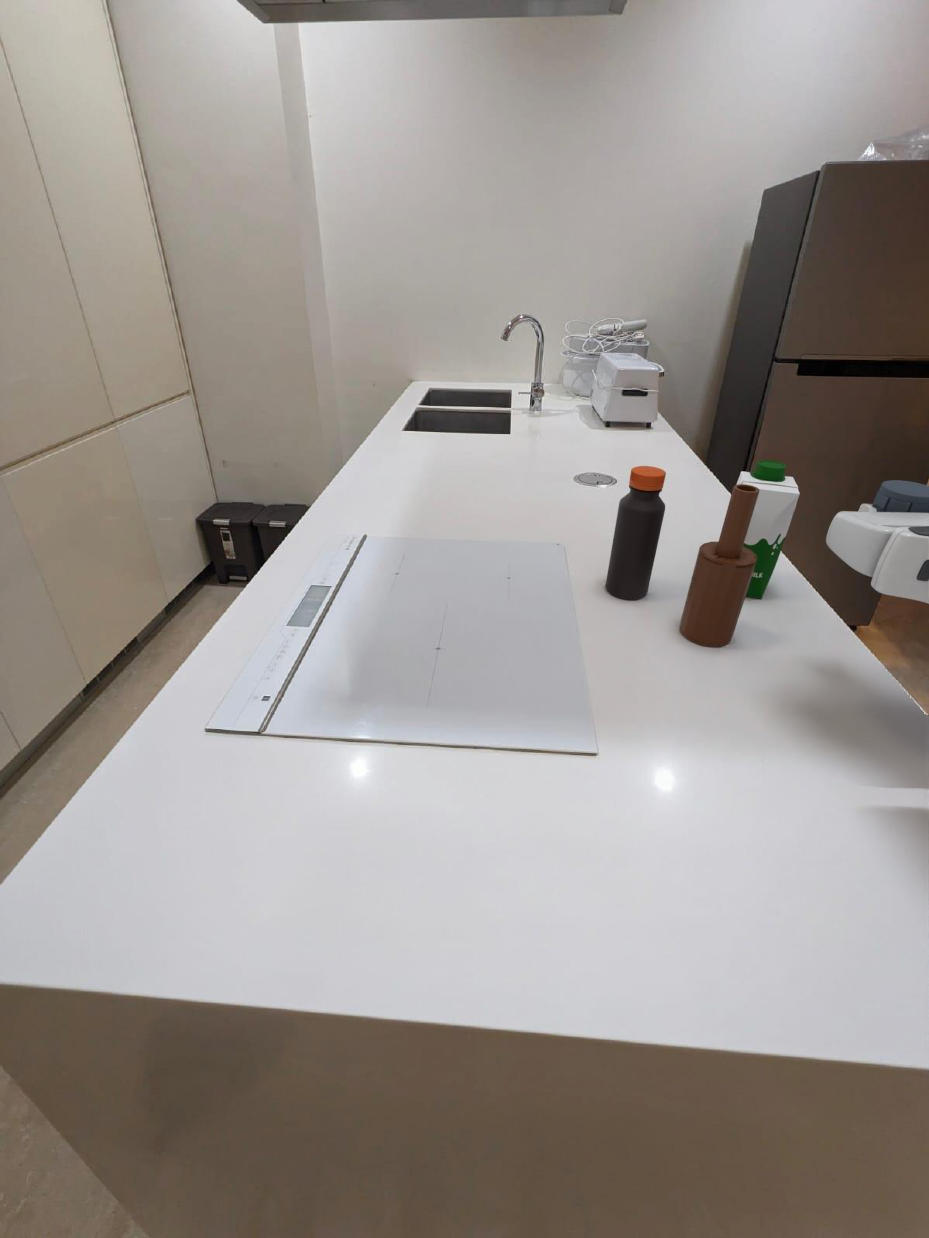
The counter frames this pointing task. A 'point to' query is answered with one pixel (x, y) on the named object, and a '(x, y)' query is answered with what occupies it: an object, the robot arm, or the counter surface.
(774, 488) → the milk carton
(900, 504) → the cylinder
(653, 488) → the vinegar
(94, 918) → the counter surface
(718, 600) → the bottle
